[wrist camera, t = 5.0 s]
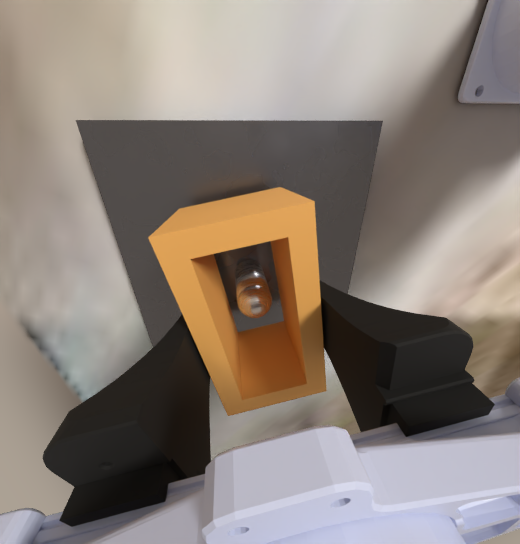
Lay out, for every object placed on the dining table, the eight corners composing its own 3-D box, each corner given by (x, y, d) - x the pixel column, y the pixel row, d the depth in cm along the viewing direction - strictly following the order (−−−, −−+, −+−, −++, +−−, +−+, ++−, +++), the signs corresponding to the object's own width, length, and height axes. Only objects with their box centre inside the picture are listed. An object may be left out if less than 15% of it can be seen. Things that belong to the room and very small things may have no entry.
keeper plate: (372, 123, 13) (457, 101, 8) (336, 317, 20) (371, 367, 15) (87, 123, 11) (-18, 95, 6) (156, 337, 18) (131, 401, 13)
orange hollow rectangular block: (280, 186, 11) (314, 201, 7) (298, 328, 16) (326, 390, 12) (179, 208, 11) (148, 237, 7) (227, 345, 16) (228, 416, 11)
